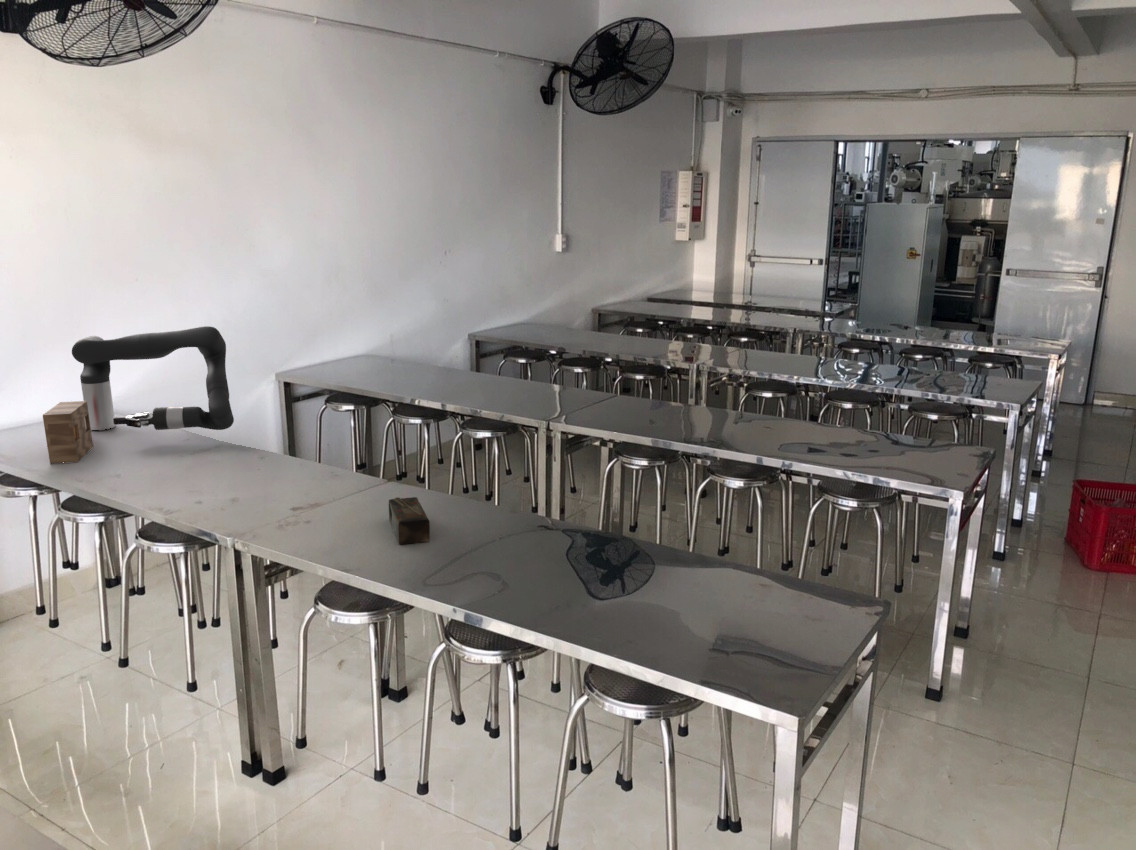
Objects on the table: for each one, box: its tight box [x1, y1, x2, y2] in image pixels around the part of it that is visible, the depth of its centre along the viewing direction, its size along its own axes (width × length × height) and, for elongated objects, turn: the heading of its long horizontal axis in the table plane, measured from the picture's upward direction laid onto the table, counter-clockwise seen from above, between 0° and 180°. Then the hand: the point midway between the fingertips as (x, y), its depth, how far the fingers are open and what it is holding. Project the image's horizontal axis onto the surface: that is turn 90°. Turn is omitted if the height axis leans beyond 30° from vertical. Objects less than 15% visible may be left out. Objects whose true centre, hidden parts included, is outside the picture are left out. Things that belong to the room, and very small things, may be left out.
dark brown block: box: [388, 496, 431, 546], centre depth 227 cm, size 8×19×7 cm, turn 18°
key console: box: [42, 400, 94, 464], centre depth 290 cm, size 18×8×16 cm, turn 13°
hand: (114, 420), depth 298 cm, fingers closed
